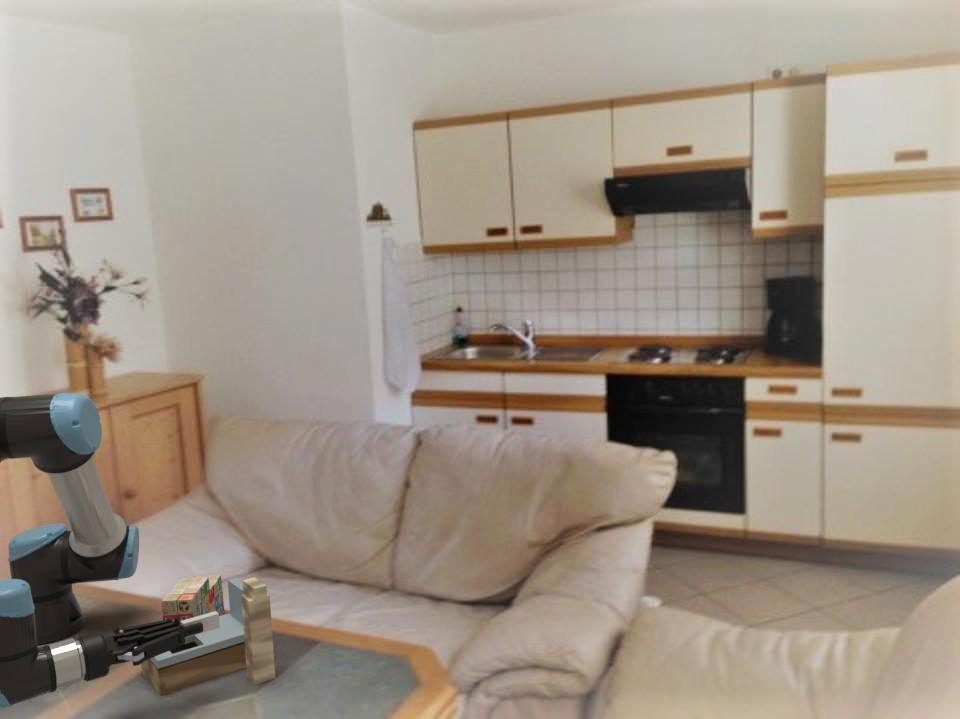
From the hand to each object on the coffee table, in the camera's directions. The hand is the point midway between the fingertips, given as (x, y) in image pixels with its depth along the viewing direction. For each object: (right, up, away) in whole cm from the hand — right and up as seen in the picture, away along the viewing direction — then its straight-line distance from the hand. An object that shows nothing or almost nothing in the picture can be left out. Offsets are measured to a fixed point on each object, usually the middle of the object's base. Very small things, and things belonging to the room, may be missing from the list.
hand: (217, 619), depth 155 cm
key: (+7, -14, +6) cm, 16 cm away
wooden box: (-6, -14, +11) cm, 19 cm away
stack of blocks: (-13, -12, +29) cm, 34 cm away
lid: (-7, -8, +10) cm, 14 cm away
